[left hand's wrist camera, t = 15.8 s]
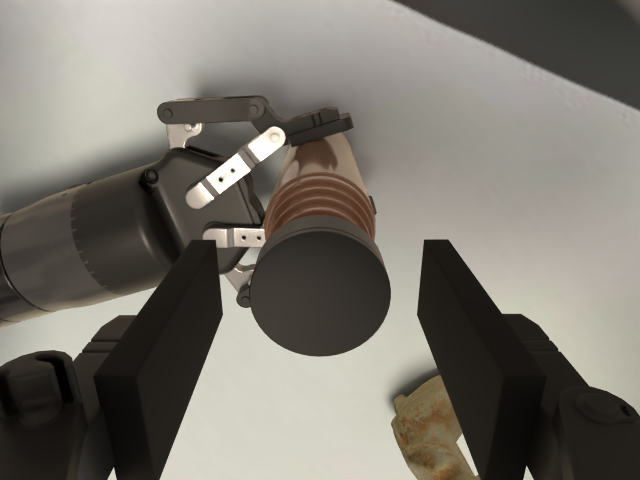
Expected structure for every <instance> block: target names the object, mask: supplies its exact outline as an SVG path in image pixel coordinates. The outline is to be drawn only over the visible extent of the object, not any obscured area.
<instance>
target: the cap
mask: <svg viewBox="0 0 640 480" xmlns="http://www.w3.org/2000/svg"><path fill="white" fill-rule="evenodd" d="M390 299H391V288H390V282H389V278H388V275H387V272H386V268H385V265H384V262H383V259H382V256H381V253H380V251H379V249H378V247H377V245H376V244H375V242H374V241H373V239H372V238H371V237H370V236H369V235H368V234H367V233H366V232H365V231H364V230H363V229H361V228H360V227H358V226H357V225H355V224H354V223H352V222H350V221H348V220H345V219H342V218H339V217H335V216H329V215H311V216H305V217H301V218H298V219H295V220H292V221H290V222H288V223H286V224H285V225H283V226H281V227H280V228H279V229H277V230H276V231H275V232H274V233H273V234H272V235H271V236H270V237H269V238H268V239H267V241H266V242H265V243H264V245H263V247H262V249H261V251H260V253H259V256H258V259H257V262H256V265H255V268H254V271H253V274H252V277H251V281H250V287H249V300H250V306H251V310H252V313H253V315H254V318H255V320H256V322H257V323H258V325H259V326H260V328H261V329H262V330H263V332H264V333H265V334H266V335H267V336H268V337H269V338H270V339H271V340H273V341H274V342H275V343H277V344H278V345H280V346H282V347H284V348H285V349H288V350H290V351H292V352H295V353H299V354H302V355H308V356H332V355H337V354H341V353H345V352H347V351H350V350H352V349H354V348H356V347H358V346H360V345H361V344H363V343H364V342H366V341H367V340H368V339H369V338H370V337H372V336H373V335H374V334H375V332H376V331H377V330H378V329H379V328H380V326H381V324H382V323H383V321H384V319H385V317H386V315H387V312H388V309H389V305H390Z"/></svg>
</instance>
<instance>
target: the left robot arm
mask: <svg viewBox="0 0 640 480" xmlns="http://www.w3.org/2000/svg"><path fill="white" fill-rule="evenodd" d="M222 316H223V311H222V300H221V289H220V278H219V268H218V257H217V246H216V240H191V241H190V243H189V244H188V246H187V247H186V248H185V250H184V251H183V252H182V254H181V255H180V257H179V258H178V259H177V261H176V262H175V263H174V265H173V266H172V268H171V269H170V270H169V272H168V273H167V275H166V276H165V277H164V279H163V280H162V281H161V283H160V284H159V286H158V287H157V288H156V290H155V291H154V292H153V294H152V295H151V297H150V298H149V299H148V301H147V302H146V304H145V305H144V306H143V308H142V309H141V310H140V312H139V313H138V315H119V316H118V317H116V318H114V319H113V320H111V321H110V322H108V323H107V324H105V325H104V326H102V327H101V328H100V329H99V331H98V332H97V333H96V334H95V336H94V337H93V338H92V339H91V342H89V343H88V344H87V345H86V346H85V348H84V349H83V350H82V353H80V354H79V355H78V356H77V357H76V359H75V360H74V361H72V357H70V356H69V355H68V354H66V353H65V352H60V351H55V350H50V351H38V352H34V353H31V354H27V355H23V356H20V357H18V358H16V359H14V360H11V361H9V362H7V363H5V364H4V365H2V366H1V367H0V480H107V479H108V477H109V475H110V473H111V471H112V469H113V467H114V469H115V474H116V478H117V480H159V479H160V477H161V474H162V472H163V469H164V466H165V464H166V461H167V459H168V456H169V453H170V451H171V448H172V446H173V443H174V440H175V438H176V435H177V433H178V430H179V427H180V425H181V422H182V420H183V417H184V414H185V412H186V409H187V407H188V404H189V401H190V399H191V396H192V394H193V391H194V388H195V386H196V383H197V381H198V378H199V375H200V373H201V370H202V368H203V365H204V362H205V360H206V357H207V355H208V352H209V350H210V347H211V344H212V342H213V339H214V337H215V334H216V331H217V329H218V326H219V324H220V321H221V318H222ZM417 316H418V318H419V321H420V324H421V326H422V329H423V331H424V334H425V337H426V339H427V342H428V344H429V347H430V350H431V352H432V355H433V357H434V360H435V363H436V365H437V368H438V370H439V373H440V375H441V378H442V381H443V383H444V386H445V388H446V391H447V394H448V396H449V399H450V401H451V404H452V407H453V409H454V412H455V414H456V417H457V420H458V422H459V425H460V427H461V430H462V433H463V435H464V438H465V440H466V443H467V446H468V448H469V451H470V453H471V456H472V459H473V461H474V464H475V466H476V469H477V472H478V474H479V477H480V479H481V480H523V478H524V474H525V469H526V465H527V467H528V469H529V471H530V473H531V475H532V477H533V479H534V480H640V416H639V414H638V413H637V412H636V410H635V409H634V408H633V407H632V406H630V405H629V404H628V403H626V402H625V401H624V400H623V399H621V398H619V397H617V396H615V395H613V394H611V393H609V392H607V391H604V390H600V389H597V388H594V387H589V385H588V384H587V383H586V382H585V381H584V379H583V378H582V377H581V376H580V375H579V373H578V372H577V371H576V370H575V369H574V367H573V366H572V365H571V364H570V363H569V361H568V360H567V359H566V358H565V357H564V355H563V354H562V353H561V352H558V348H557V347H556V346H555V344H554V343H553V342H552V341H549V337H548V336H547V335H546V334H545V332H544V331H543V330H542V329H541V328H540V326H539V325H537V324H536V323H534V322H533V321H531V320H530V319H528V318H527V317H525V316H523V315H522V314H502V313H501V312H500V310H499V309H498V308H497V306H496V305H495V304H494V302H493V301H492V299H491V298H490V297H489V295H488V294H487V292H486V291H485V290H484V288H483V287H482V286H481V284H480V283H479V281H478V280H477V279H476V277H475V276H474V275H473V273H472V272H471V270H470V269H469V268H468V266H467V265H466V263H465V262H464V261H463V259H462V258H461V257H460V255H459V254H458V252H457V251H456V250H455V248H454V247H453V246H452V244H451V243H450V241H449V240H424V246H423V257H422V268H421V278H420V289H419V300H418V311H417Z"/></svg>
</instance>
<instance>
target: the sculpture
mask: <svg viewBox="0 0 640 480" xmlns="http://www.w3.org/2000/svg"><path fill="white" fill-rule="evenodd" d="M394 408H395V412H396V414H397V415H396V416H395V417H394V419H393V420H392V422H391V426H392V428H393V432H394V435H395V438H396V441H397V443H398V446H399V448H400V450H401V452H402V455H403V457H404V459H405V461H406V463H407V466H408V467H409V469H410V470H411V471H412V473H413V474H414V475H415V477H416V478H417V479H418V480H481V479H480V477H479V475H477V476H475V475H474V474H473V472H472V470H471V468H470V466H469V465H468V463H467V461H466V459H465V457H464V456H463V454H462V452H461V450H460V449H459V447H458V445H457V443H456V441H457V440H458V438H459V437H460V436H461V434H462V430H461V427H460V425H459V422H458V420H457V417H456V414H455V412H454V409H453V407H452V404H451V401H450V399H449V396H448V394H447V391H446V388H445V386H444V383H443V381H442V378H441V375H438V376H435V377H433V378H431V379H430V380H428V381H427V382H425V383H424V384H422V385H421V386H420V387H419V388H417V389H416V390H415V391H414V392H413V393H412V394H410V395H409V396H408V397H406V396H405V395H403V394H401V395H399V396H398V397H396V399H395V400H394Z"/></svg>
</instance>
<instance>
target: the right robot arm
mask: <svg viewBox="0 0 640 480" xmlns="http://www.w3.org/2000/svg"><path fill="white" fill-rule="evenodd" d="M157 115H158V117H159V119H160V120H161V121H162V122H163V123H165V124H166V128H167V134H168V140H169V146H170V149H169V150H168V151H167V152H165V154H164V155H163V156H162V157H161V158H160V159H159V160H158V161H156V162H153V163H150V164H147V165H144V166H141V167H137V168H134V169H131V170H128V171H125V172H122V173H119V174H116V175H112V176H109V177H106V178H103V179H100V180H97V181H94V182H90V183H88V184H79V185H75V186H72V187H70V188H69V189H67V190H65V191H62V192H59V193H56V194H53V195H51V196H48V197H45V198H43V199H41V200H39V201H37V202H35V203H33V204H31V205H29V206H27V207H25V208H22V209H20V210H17V211H14V212H11V213H8V214H5V215H1V216H0V329H2V328H4V327H7V326H9V325H12V324H15V323H18V322H21V321H24V320H28V319H31V318H35V317H38V316H42V315H45V314H49V313H52V312H56V311H59V310H63V309H69V308H77V307H84V306H89V305H94V304H98V303H101V302H105V301H108V300H112V299H115V298H119V297H122V296H126V295H129V294H133V293H136V292H140V291H143V290H147V289H150V288H154V287H157V286H159V284H160V283H161V281H162V280H163V279H164V277H165V276H166V275H167V273H168V272H169V270H170V269H171V268H172V266H173V265H174V263H175V262H176V261H177V259H178V258H179V257H180V255H181V254H182V252H183V251H184V250H185V248H186V247H187V246H188V244H189V243H190V241H191V240H216V246H217V257H218V268H219V275H222V274H224V275H225V276H226V277H227V279H228V280H229V281H230V283H231V284H232V285H233V286H234V288H235V289H236V290H237V292H238V295H237V299H236V300H237V303H238V304H239V305H240V306H241V307H244V308H249V307H251V306H250V300H249V287H250V281H251V277H252V274H253V271H254V268H255V265H256V264H251V265H248V266H243V265H241V264H239V263H238V262H239V261H240V260H241V258H242V257H243V256H244V254H245V253H246V252H247V250H248V249H249V248H250V247H263V245H264V243H265V242H266V241H265V234H264V220H265V213H266V211H264V209H263V207H262V204H261V202H260V201H259V199H258V198H257V196H256V195H255V194H254V190H253V180H252V177H251V174H250V172H249V171H251V170H252V169H253V168H254V167H255V166H256V165H258V164H259V163H260V162H261V161H262V160H264V159H265V158H266V157H268V156H269V155H270V154H272V153H273V152H274V151H276V150H277V149H278V148H280V147H282V146H285V145H288V144H291V147H296V146H299V145H302V144H305V143H307V142H311V141H315V140H318V139H321V138H324V137H328V136H331V135H334V134H337V133H340V132H343V131H347V130H349V129H352V128H353V123H352V120H351V116H350V114H349V113H345V114H341V115H339V113H338V109H337V108H336V107H326V108H323V109H320V110H316V111H313V112H310V113H307V114H304V115H301V116H298V117H295V118H291V119H282V118H280V117H278V116H277V115H276V113H275V112H274V111H273V110H272V108H271V107H270V106H269V103H268V100H267V99H266V98H265V97H263V96H260V95H254V96H232V97H210V98H188V99H176V100H172V101H168V102H164V103H162V104H161V105H160V106H159V107H158V109H157ZM240 121H251V122H252V124H253V125H254V126H255V127H256V129H257V130H258V131H259V132H260V133H259V134H258V135H257V136H255V137H254V138H253V139H252V140H250V141H249V142H247V143H246V144H245V145H243V146H242V147H241V148H240V149H238V150H237V151H236V152H234V153H233V154H232V155H230V156H229V157H228V158H227V157H224V156H221V155H218V154H215V153H212V152H209V151H205V150H202V149H199V148H196V147H193V146H190V145H189V141H190V138H191V137H192V136H196V135H198V134H200V133H201V132H203V131H204V129H205V123H218V122H240ZM369 199H370V202H371V205H372V207H373V211H374V215H375V214H376V213H377V212H376V209H375V205H374V202H373V199H372V197H371V196H369ZM258 236H260V237H258Z"/></svg>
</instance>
